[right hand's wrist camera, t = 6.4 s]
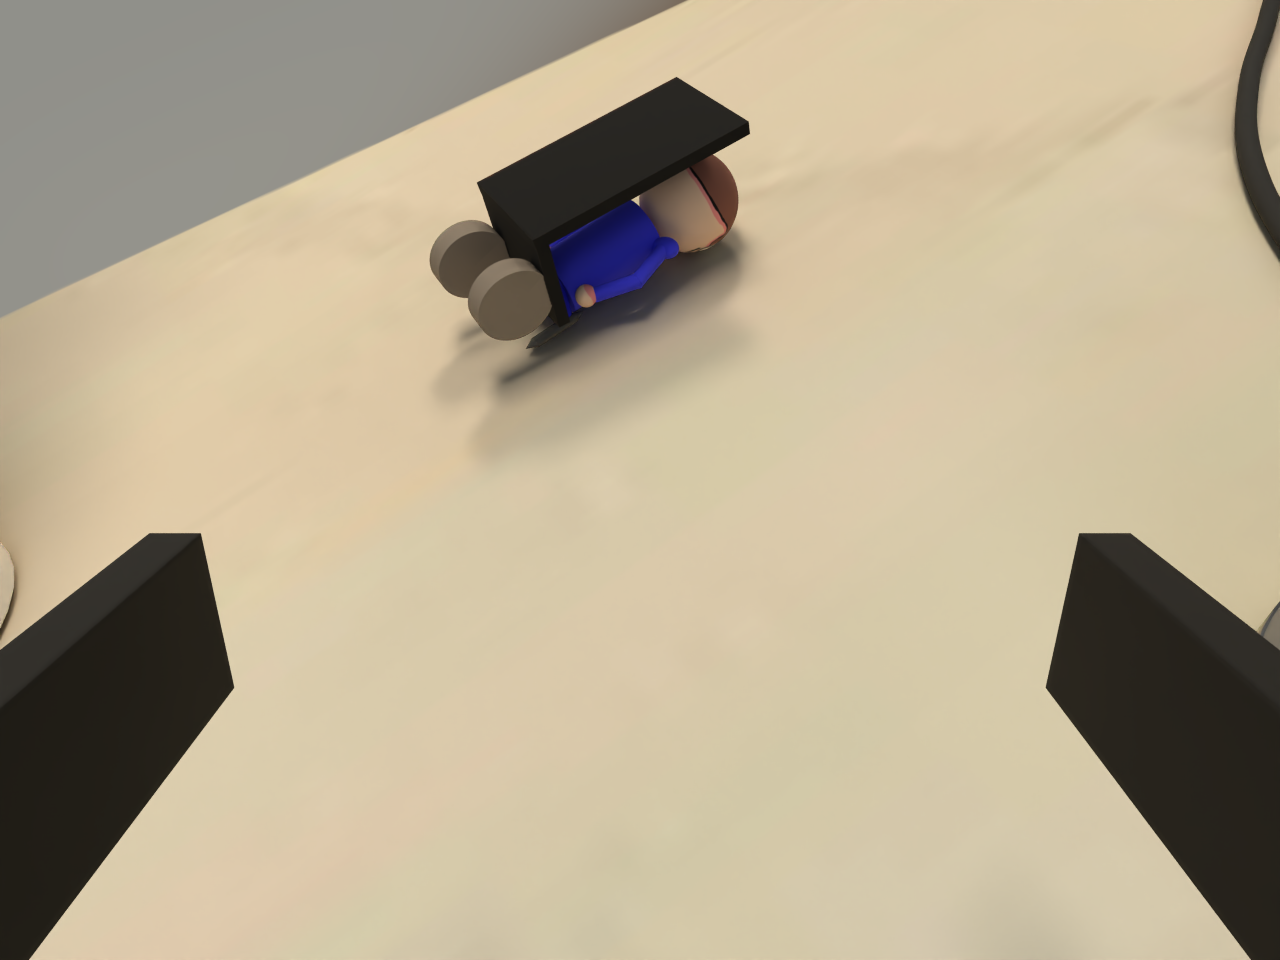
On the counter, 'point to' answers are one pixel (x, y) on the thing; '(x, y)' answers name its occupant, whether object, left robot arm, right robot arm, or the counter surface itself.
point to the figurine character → (594, 213)
